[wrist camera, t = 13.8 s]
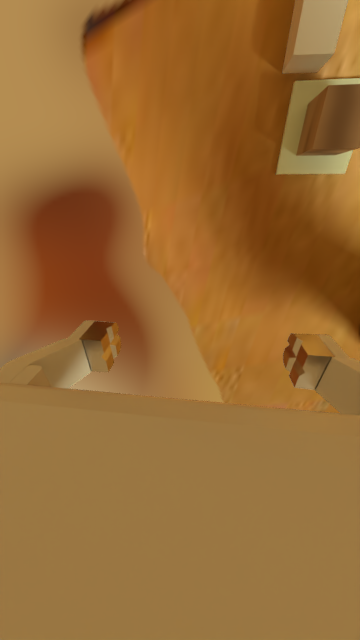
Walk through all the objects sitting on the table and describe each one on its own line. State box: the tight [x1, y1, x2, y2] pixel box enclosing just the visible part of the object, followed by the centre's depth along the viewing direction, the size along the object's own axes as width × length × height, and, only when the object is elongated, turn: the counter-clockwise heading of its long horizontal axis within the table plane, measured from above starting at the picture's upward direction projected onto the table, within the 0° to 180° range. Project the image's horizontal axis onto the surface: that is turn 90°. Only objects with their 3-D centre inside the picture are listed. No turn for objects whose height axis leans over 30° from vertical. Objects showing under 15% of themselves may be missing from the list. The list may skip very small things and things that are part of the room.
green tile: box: [275, 78, 360, 175], centre depth 26 cm, size 9×9×1 cm
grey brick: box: [282, 0, 348, 74], centre depth 21 cm, size 8×4×4 cm, turn 179°
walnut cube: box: [296, 84, 360, 156], centre depth 24 cm, size 5×5×5 cm
